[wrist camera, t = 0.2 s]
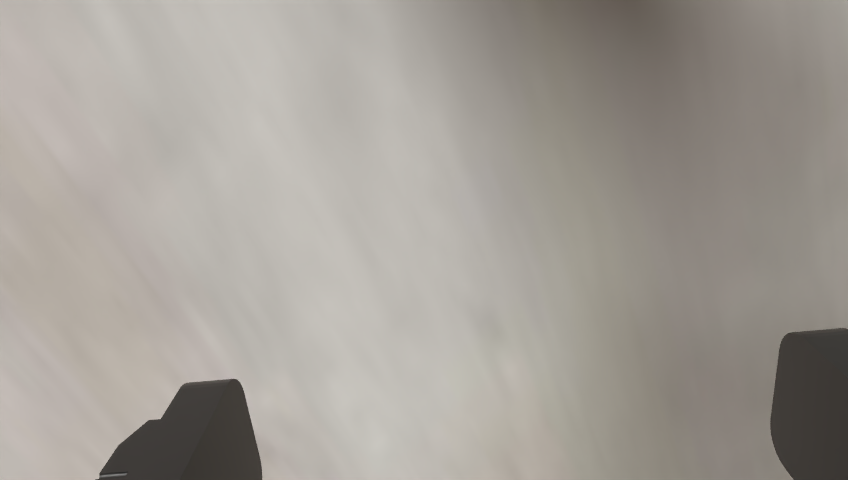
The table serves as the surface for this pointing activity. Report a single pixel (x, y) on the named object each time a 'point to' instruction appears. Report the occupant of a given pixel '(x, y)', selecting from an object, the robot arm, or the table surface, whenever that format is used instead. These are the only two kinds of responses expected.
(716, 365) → the table surface
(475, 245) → the table surface
